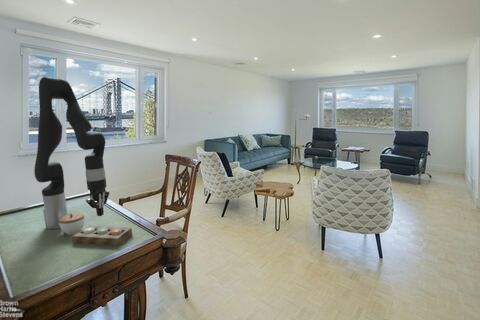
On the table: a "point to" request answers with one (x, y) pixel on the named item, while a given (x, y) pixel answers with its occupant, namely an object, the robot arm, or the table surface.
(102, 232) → the button sage
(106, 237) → the wooden tray
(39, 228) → the table surface
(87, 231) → the button ivory
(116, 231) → the button terracotta
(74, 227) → the lidded jar
